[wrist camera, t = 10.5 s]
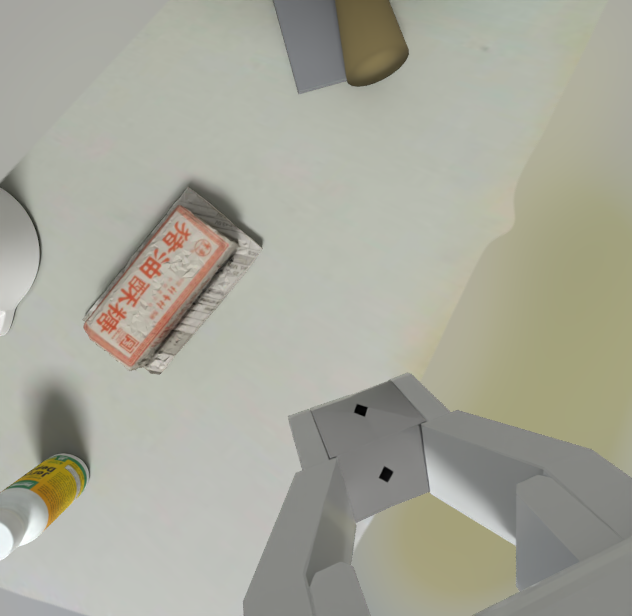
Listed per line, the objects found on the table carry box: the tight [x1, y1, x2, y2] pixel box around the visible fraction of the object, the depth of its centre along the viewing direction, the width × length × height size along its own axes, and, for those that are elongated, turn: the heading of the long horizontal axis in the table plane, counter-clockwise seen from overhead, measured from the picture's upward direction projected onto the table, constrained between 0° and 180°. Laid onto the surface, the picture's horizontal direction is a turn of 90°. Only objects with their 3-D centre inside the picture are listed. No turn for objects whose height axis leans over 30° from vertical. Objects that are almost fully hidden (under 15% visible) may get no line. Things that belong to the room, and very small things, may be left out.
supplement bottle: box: [0, 453, 89, 560], centre depth 33 cm, size 5×5×10 cm
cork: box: [335, 0, 409, 87], centre depth 32 cm, size 6×6×11 cm
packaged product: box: [83, 187, 263, 375], centre depth 34 cm, size 18×5×10 cm
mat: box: [273, 0, 347, 94], centre depth 34 cm, size 10×11×1 cm
